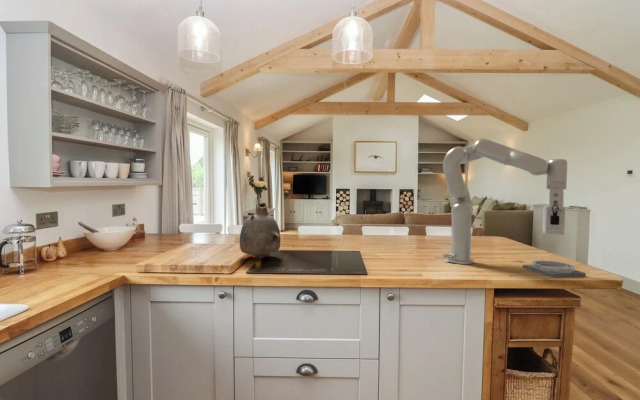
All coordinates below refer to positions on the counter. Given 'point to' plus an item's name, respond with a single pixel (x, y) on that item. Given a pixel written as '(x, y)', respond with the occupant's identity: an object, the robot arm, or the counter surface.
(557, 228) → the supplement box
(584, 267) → the counter surface
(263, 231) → the jug
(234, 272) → the counter surface
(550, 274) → the charcoal board
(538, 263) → the steel ring
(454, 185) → the robot arm
